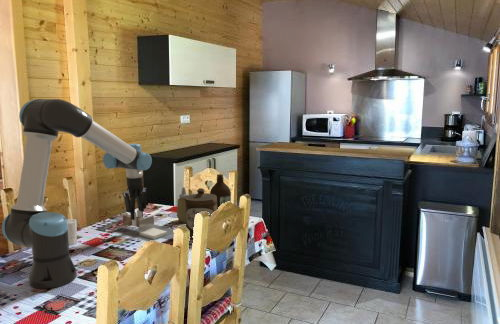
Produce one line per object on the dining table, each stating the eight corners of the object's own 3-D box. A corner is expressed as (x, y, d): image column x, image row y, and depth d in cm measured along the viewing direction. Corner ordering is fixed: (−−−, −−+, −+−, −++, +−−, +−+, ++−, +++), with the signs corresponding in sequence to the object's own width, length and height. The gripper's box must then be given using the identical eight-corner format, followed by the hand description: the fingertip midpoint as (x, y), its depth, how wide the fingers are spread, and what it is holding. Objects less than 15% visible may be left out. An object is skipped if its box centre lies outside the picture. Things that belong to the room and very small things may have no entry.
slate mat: (150, 242, 186) (149, 241, 186) (122, 234, 198) (122, 233, 197) (179, 232, 200) (179, 231, 200) (152, 225, 212) (152, 224, 212)
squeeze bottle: (175, 220, 219) (173, 186, 217) (190, 218, 223) (188, 185, 220) (179, 224, 212) (178, 189, 209) (194, 222, 215) (193, 188, 213)
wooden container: (183, 239, 189) (181, 192, 186) (189, 229, 204) (188, 185, 201) (216, 239, 189) (215, 192, 185) (220, 229, 203) (218, 185, 200)
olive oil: (206, 222, 215) (205, 174, 211) (222, 218, 222) (221, 172, 218) (219, 227, 207) (218, 177, 203) (235, 222, 214) (234, 174, 210)
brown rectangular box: (118, 224, 204) (117, 214, 203) (131, 220, 210) (131, 210, 209) (140, 230, 193) (139, 220, 193) (154, 226, 200) (153, 216, 199)
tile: (139, 235, 194) (153, 239, 189) (139, 232, 194) (153, 236, 188) (153, 230, 201) (167, 234, 195) (152, 227, 201) (167, 231, 195)
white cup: (55, 244, 185) (53, 222, 184) (70, 239, 192) (68, 218, 191) (67, 247, 182) (65, 224, 180) (82, 241, 189) (80, 220, 187)
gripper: (125, 180, 189) (128, 230, 193) (152, 175, 201) (155, 222, 205) (115, 178, 194) (118, 227, 197) (142, 173, 206) (145, 219, 209)
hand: (137, 224), depth 201 cm, fingers closed on brown rectangular box, 2 cm apart
